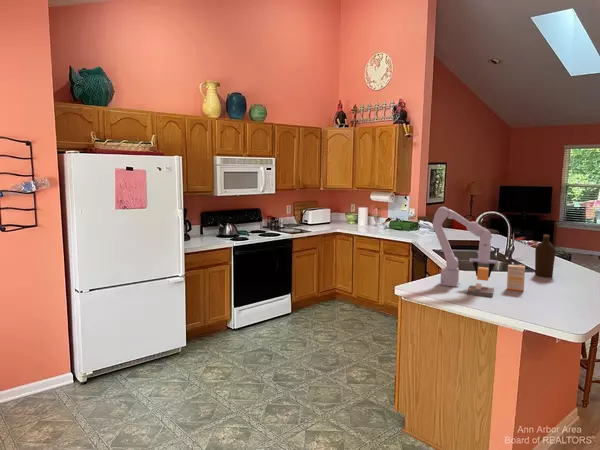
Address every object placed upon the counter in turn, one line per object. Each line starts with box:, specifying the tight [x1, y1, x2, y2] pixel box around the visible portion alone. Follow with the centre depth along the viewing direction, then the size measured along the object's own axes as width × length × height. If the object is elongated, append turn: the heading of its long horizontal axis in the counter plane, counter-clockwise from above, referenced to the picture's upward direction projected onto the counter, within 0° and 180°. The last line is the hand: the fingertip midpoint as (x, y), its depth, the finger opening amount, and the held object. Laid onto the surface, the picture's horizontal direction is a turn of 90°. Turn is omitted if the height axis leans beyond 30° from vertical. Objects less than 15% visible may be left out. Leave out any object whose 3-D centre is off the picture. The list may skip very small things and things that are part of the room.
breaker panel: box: [466, 285, 495, 298], centre depth 226 cm, size 12×11×3 cm
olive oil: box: [534, 234, 556, 278], centre depth 262 cm, size 11×11×25 cm
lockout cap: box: [476, 266, 490, 281], centre depth 236 cm, size 5×5×6 cm
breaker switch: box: [475, 282, 482, 290], centre depth 224 cm, size 2×2×3 cm
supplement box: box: [506, 264, 526, 292], centre depth 231 cm, size 8×5×13 cm, turn 59°
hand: (483, 276), depth 236 cm, fingers closed on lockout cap, 5 cm apart
